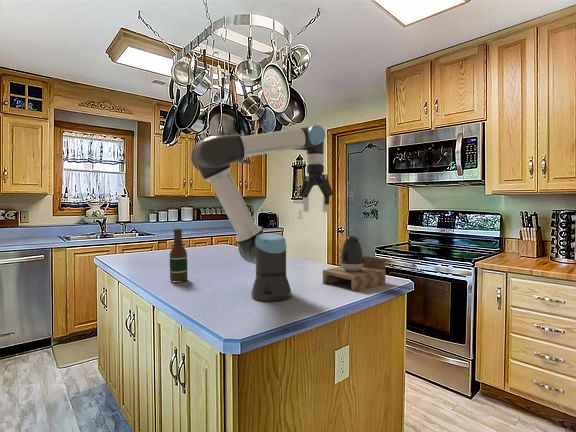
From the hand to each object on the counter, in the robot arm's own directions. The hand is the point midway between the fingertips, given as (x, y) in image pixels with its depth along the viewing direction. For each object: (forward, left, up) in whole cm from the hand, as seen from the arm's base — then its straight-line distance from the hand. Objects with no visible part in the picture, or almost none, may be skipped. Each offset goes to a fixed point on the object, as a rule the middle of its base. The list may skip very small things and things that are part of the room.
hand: (315, 211), depth 160 cm
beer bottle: (-48, +42, -32) cm, 71 cm away
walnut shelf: (+8, -15, -31) cm, 36 cm away
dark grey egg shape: (+7, -15, -25) cm, 31 cm away
